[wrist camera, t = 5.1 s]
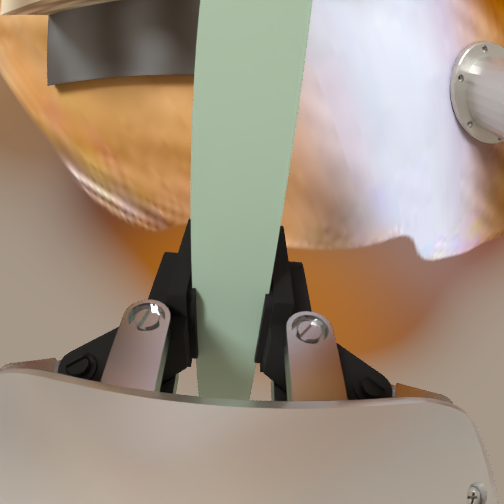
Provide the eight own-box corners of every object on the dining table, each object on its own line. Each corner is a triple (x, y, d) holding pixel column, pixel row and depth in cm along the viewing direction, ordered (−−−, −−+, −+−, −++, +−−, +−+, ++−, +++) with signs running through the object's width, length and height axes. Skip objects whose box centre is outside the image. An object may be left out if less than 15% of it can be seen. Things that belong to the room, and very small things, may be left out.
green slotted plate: (236, 20, 14) (203, -35, 4) (274, 24, 14) (315, -24, 4) (218, 283, 24) (202, 435, 14) (245, 285, 24) (241, 438, 15)
